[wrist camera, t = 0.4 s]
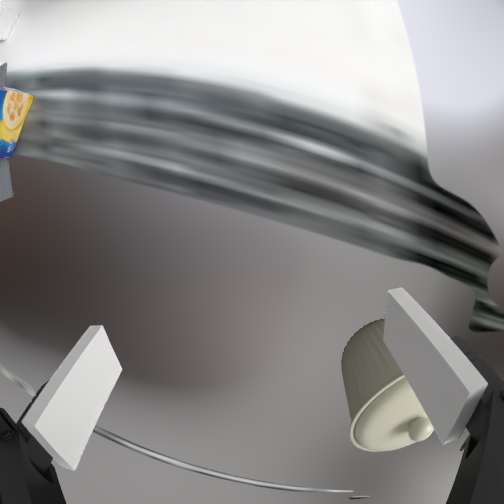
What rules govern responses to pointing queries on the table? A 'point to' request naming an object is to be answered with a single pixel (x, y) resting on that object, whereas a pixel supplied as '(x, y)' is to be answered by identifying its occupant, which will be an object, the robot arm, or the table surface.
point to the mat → (3, 188)
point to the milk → (6, 22)
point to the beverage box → (12, 118)
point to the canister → (380, 395)
